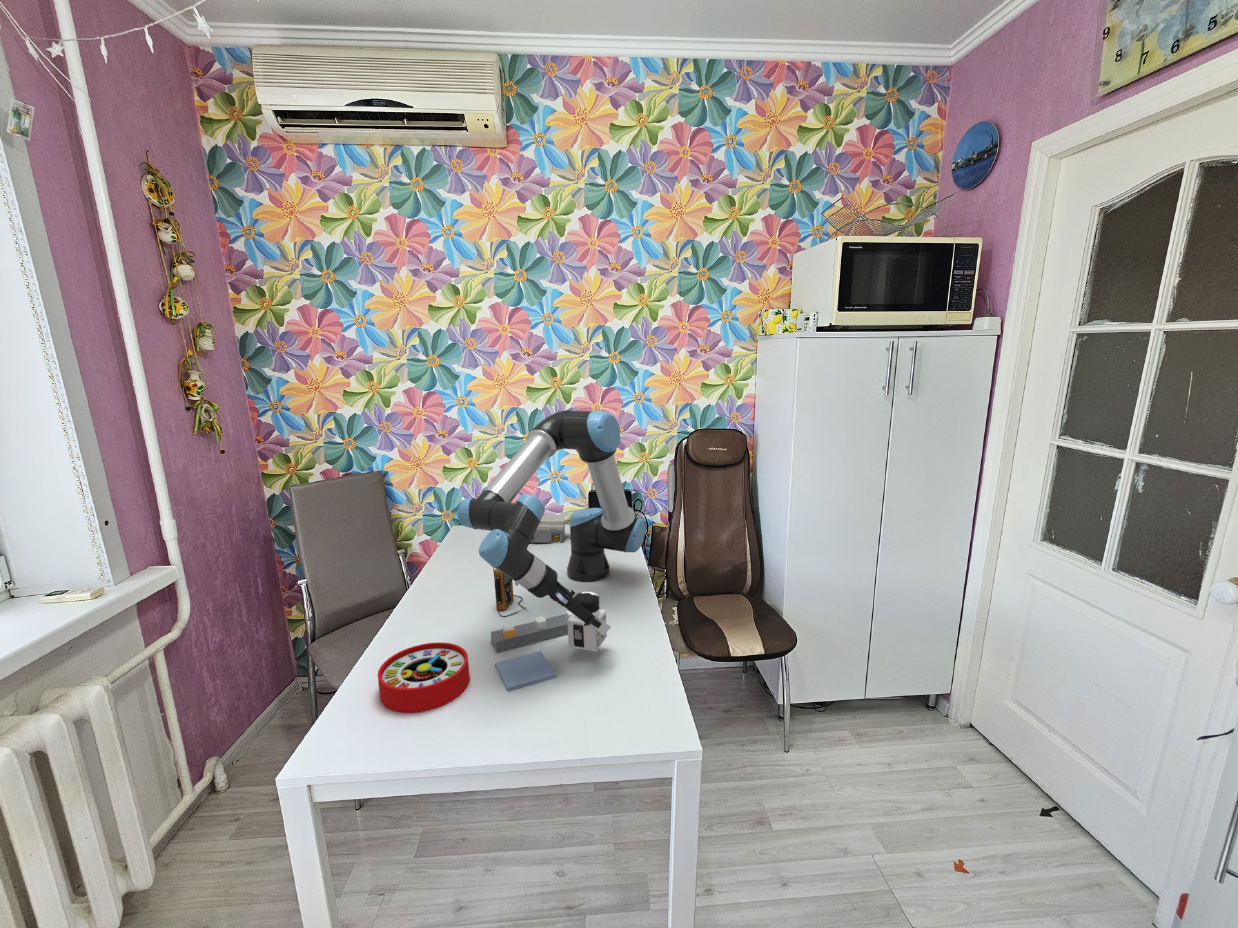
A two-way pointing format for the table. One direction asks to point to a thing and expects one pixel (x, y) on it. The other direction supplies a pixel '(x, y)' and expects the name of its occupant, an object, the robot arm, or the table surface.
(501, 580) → the multimeter
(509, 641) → the breaker panel
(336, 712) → the table surface
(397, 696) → the toy clock
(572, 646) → the container
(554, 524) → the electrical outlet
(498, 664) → the pad
